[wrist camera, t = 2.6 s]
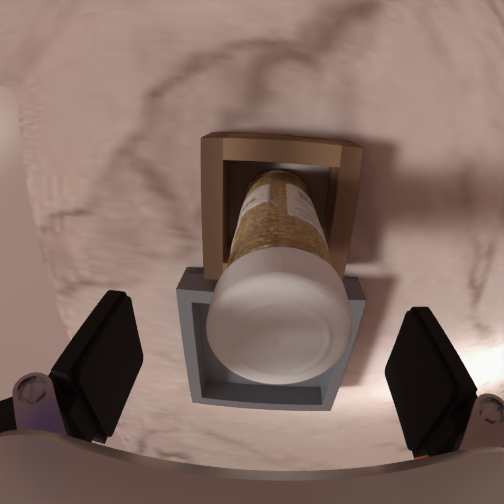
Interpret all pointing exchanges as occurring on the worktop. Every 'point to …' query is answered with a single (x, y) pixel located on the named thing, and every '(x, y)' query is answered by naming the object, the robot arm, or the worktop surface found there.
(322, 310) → the sprinkles bottle
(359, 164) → the walnut holder
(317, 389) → the gray square tray
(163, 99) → the worktop surface
